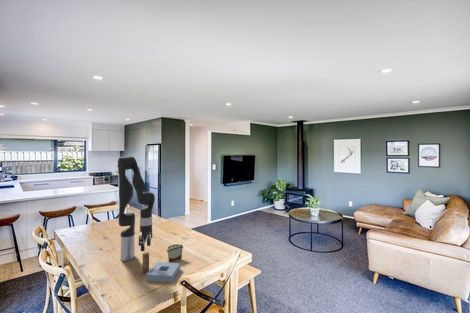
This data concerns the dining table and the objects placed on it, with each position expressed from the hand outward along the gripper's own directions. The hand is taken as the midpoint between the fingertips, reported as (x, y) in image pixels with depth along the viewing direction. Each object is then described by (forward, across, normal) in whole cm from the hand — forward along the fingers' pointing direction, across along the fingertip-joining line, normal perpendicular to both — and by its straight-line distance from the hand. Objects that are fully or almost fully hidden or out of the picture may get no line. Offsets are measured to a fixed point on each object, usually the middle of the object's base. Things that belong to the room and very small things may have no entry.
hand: (145, 248), depth 151 cm
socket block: (+16, +2, +13) cm, 20 cm away
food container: (+16, -20, +12) cm, 28 cm away
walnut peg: (+16, 0, 0) cm, 16 cm away
